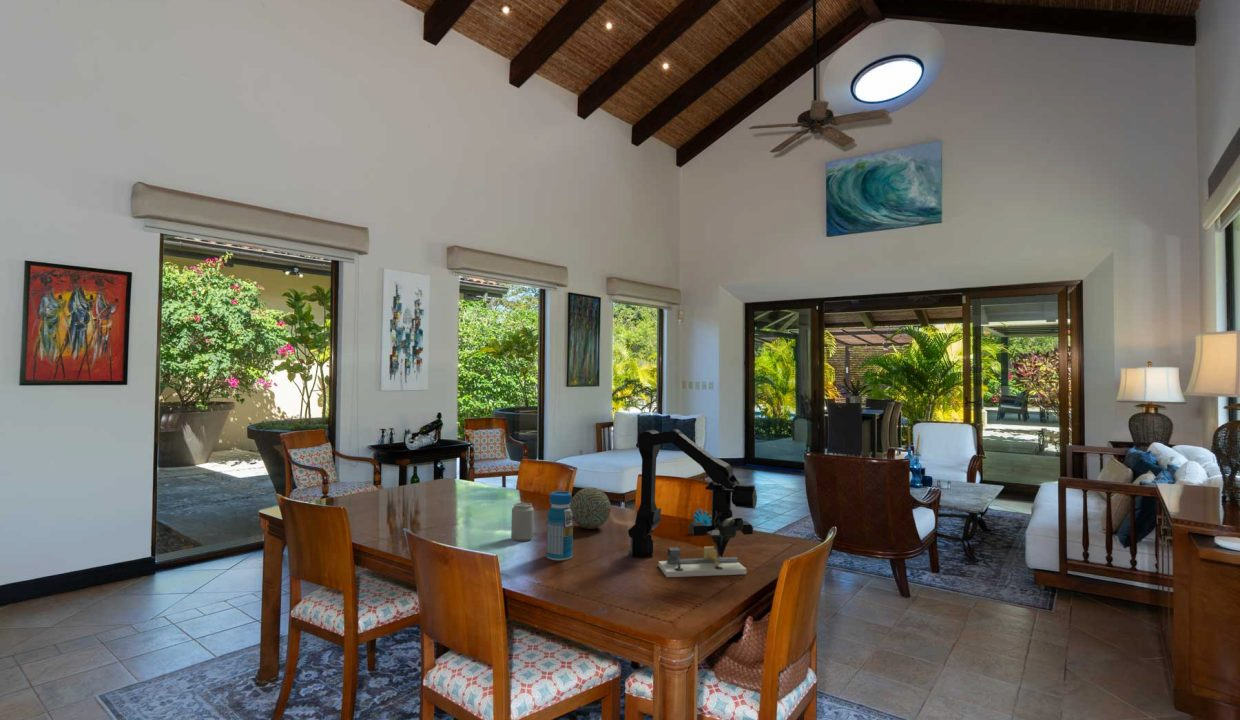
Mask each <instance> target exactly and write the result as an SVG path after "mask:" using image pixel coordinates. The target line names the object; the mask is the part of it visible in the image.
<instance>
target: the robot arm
mask: <svg viewBox="0 0 1240 720" xmlns="http://www.w3.org/2000/svg"><path fill="white" fill-rule="evenodd" d="M637 444H638V446H637V447H638V452H639V454H640V457H641V483H640V484H641V485H640V488H641V490H640V505H639V507H638V509H637V512H636V517H635V521H634V525H632V526H631V527H630V528H629V529H628V530H627V534H628V537H629V538H630V547H629V548H630V549H629V550H628V552H629V553H630V555H631V557H632V558H652V557H654V556H653V553H654V540H653V539H652V534H653V532H654V530H655V529H656V528H657V527H658V526H659V524H660V522H661V521H662V518H661V512H662V509H661V507H657V504H656V483H657V482H656V477H657V476H656V474H657V457H658V454H659V453H660V450H661V447H662V445H664V444H673V445H674V446H675V447H676V448H678V449H679V450H680V451H682V453H684V454H685V455H687V456H688V457H689V458H691V459H692V460H693V461H694V462H696V463H697V464H698V465H699V466H700V467H702V469H703V471H704V473H705V474H706V475H707V476H708V477H709V478H710V480H711V481H710V482H709V484H708V485H706V486H705V487H704V489H705V490H708V491H711V506H710V510H711V515H712V518H711V520H710V523H711V525H704V524H703V523H702V522H694V521H691V522H690V523H689V524H688V532H689V533H690V534H691V535H692V536H695V537H703V536H704V537H705V536H706V535H708V536H709V537H710V538H711V539H712V542H713V544H714V547H715V548H716V549H717V555H718V558H723V555H724V554H725V550H726V547H727V545H728V544H729V541H730V540H731V539H732V538H733V539H734V538H735V536H737V533H738V532H740V533H742V534H743V535H745V536H746V535H753V534H754V526H753V525H752V524H751V523H749V522H748V521H746V520H743V518H742V517H733V510H732V508H731V507H732V505H734V507H736V508H742V509H743V508H744V509H752V510H755V509H756V507H757V502H758V495H757V491H756V486H755V484H754V485H753V484H750V485H747V484H741V483H740V481H739V480H738V478H737V477H736V476H735V474H734V469H733V467H732V465H731V464H730V463H728V462H726V461H724V460H722V459H720V458H717V457H715V456H713V455H712V454H709V453H708V452H706V451H705V450H704V448H702V447H701V446H699V445H698V444H696V443H695V442H694V441H693V440H692V439H690V438H689V437H687V436H686V435H685V434H684V433H683V432H682V431H681V430H679V429H677V428H675V429H672V430H664V431H658V430H655V429H649V430H645V431H642V432H641V433H640V434H638V436H637ZM715 528H716V529H715Z"/></svg>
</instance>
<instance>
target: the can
mask: <svg viewBox="0 0 1240 720" xmlns="http://www.w3.org/2000/svg"><path fill="white" fill-rule="evenodd" d="M534 511H535V508H534V507H533V504H532V503H530V502H515V503H514V504H513V507H512V508H511V527H510V528H511V534H510V535H511V536H510V537H511V538H512V539H513V541H516V542H527V541H531V539H532V538H533V537H534V514H535V513H534Z"/></svg>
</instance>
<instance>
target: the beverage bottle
mask: <svg viewBox="0 0 1240 720" xmlns="http://www.w3.org/2000/svg"><path fill="white" fill-rule="evenodd" d="M572 495H573V494H572V492H570V491H564V490H563V491H562V490H560V491H558V490H557V491H552V492H550V494H549V503H550V505H551V506H550V507H549V509H548V511H547V514H546V516H547V520H546V553H545V554H546V558H547V559H548V560H551V561H558V562H559V561H561V562H562V561H567V560H570V559H571V558H572V557H573V541H574V540H573V538H574V525H575V524H574V522H575V521H574V520H573V511H572V509H571V507H570V504H571V501H572V498H573V496H572Z"/></svg>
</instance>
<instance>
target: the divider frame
mask: <svg viewBox="0 0 1240 720" xmlns="http://www.w3.org/2000/svg"><path fill="white" fill-rule="evenodd" d="M716 560H717V561H718V563H723V562H739V558H738V557H737V556H729V557H716ZM666 561H667V564H677V565H678V568H680V567H681V565H680V564H693V563H714V562H713V561H712V560H711V559H706V558H705V557H700V558H698V557H697V558H681V549H680V548H679V547H678V546H676V547H667V559H666Z"/></svg>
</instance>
